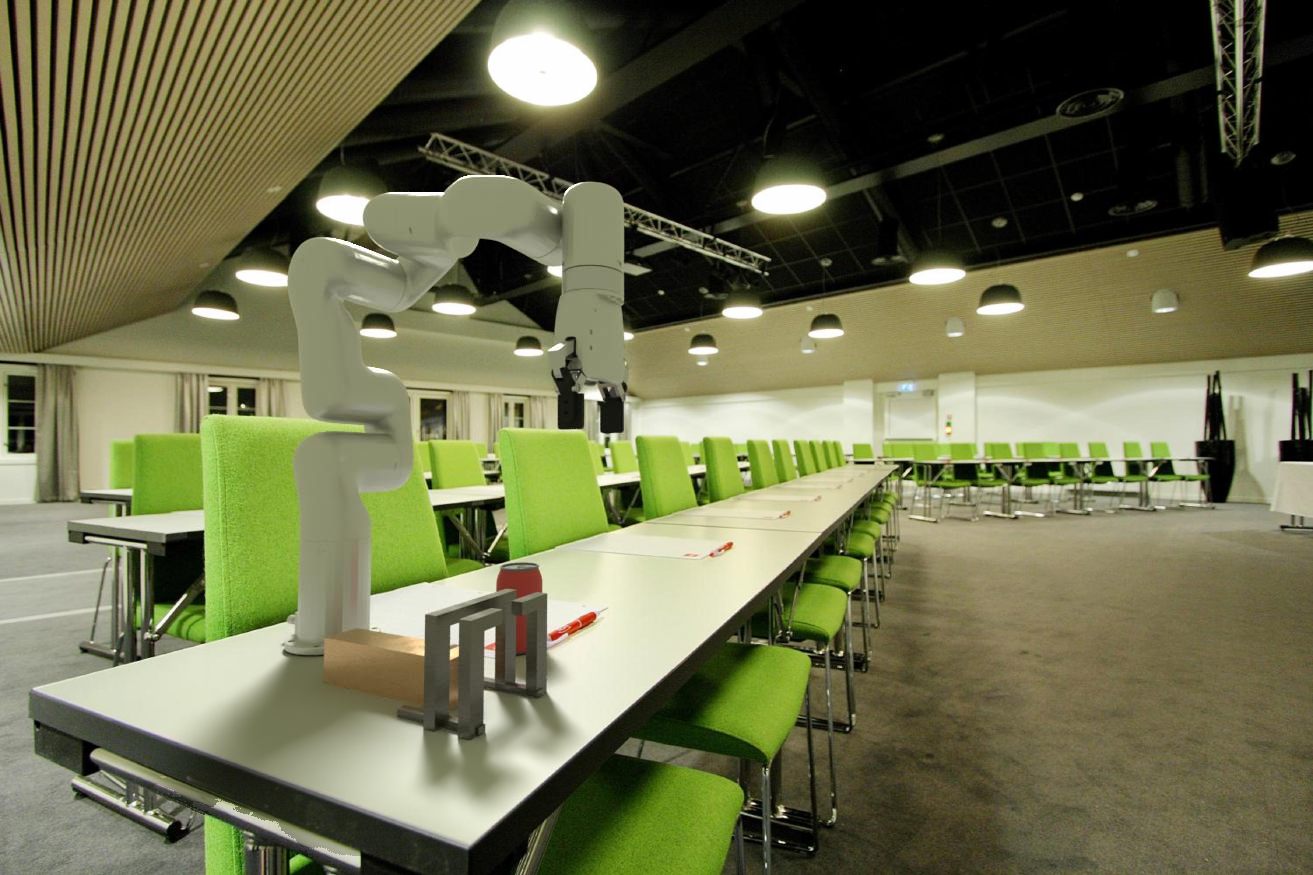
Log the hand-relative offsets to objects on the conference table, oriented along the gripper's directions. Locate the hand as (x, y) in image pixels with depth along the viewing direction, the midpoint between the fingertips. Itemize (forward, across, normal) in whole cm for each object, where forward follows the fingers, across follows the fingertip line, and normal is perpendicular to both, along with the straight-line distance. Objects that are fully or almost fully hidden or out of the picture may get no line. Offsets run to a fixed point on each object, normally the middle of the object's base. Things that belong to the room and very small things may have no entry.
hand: (592, 431), depth 70 cm
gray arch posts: (+31, +9, -10) cm, 34 cm away
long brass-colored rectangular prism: (+31, +9, -22) cm, 39 cm away
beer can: (+31, -9, -18) cm, 37 cm away
